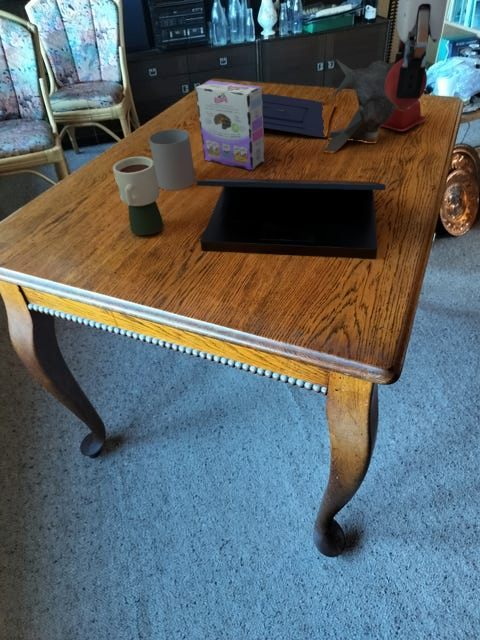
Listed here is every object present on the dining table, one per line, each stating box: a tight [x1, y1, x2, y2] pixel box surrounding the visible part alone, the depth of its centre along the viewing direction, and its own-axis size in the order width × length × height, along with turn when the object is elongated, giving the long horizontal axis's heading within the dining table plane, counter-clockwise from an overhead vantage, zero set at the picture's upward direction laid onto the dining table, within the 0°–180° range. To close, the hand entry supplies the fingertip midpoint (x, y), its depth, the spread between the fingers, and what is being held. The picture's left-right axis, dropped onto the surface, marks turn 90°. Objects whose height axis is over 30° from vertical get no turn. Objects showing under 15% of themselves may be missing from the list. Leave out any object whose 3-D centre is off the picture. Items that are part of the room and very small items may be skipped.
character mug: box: [112, 155, 165, 236], centre depth 85 cm, size 11×7×13 cm, turn 173°
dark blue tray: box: [262, 93, 325, 138], centre depth 126 cm, size 24×30×4 cm
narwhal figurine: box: [324, 58, 396, 153], centre depth 106 cm, size 14×15×18 cm
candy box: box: [194, 79, 265, 171], centre depth 104 cm, size 14×6×16 cm, turn 56°
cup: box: [148, 128, 196, 192], centre depth 100 cm, size 8×8×10 cm
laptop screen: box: [195, 177, 387, 191], centre depth 84 cm, size 22×30×1 cm
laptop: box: [200, 187, 379, 260], centre depth 87 cm, size 22×30×2 cm
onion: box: [385, 51, 428, 111], centre depth 68 cm, size 6×6×8 cm
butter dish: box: [380, 99, 427, 132], centre depth 117 cm, size 12×12×8 cm
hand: (405, 88), depth 68 cm, fingers closed on onion, 6 cm apart
